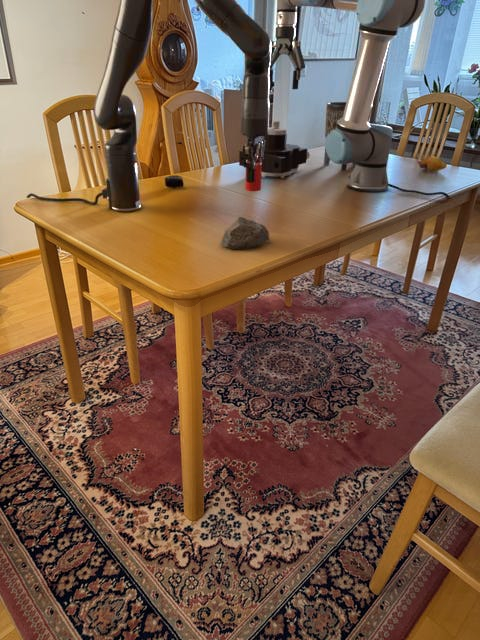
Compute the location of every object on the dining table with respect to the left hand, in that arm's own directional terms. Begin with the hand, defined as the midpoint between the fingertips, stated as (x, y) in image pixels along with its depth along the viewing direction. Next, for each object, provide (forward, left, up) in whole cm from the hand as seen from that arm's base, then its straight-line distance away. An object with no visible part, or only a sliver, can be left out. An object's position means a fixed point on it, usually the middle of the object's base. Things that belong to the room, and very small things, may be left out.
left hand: (253, 180), depth 131 cm
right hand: (-1, +75, +20) cm, 77 cm away
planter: (+28, +91, -13) cm, 96 cm away
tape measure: (-35, +34, -13) cm, 50 cm away
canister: (0, 0, -3) cm, 3 cm away
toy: (+68, +95, -13) cm, 118 cm away
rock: (+2, -18, -13) cm, 22 cm away
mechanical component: (+1, +70, -13) cm, 71 cm away
